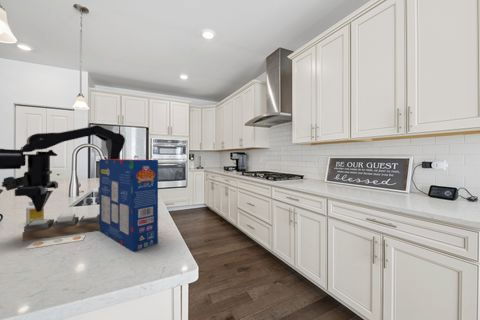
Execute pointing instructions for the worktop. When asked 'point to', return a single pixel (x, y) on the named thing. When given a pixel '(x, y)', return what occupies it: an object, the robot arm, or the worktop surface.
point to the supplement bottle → (33, 213)
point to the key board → (60, 228)
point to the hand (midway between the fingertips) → (39, 211)
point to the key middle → (66, 217)
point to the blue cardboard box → (129, 202)
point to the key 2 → (90, 216)
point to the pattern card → (56, 242)
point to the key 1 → (39, 222)
